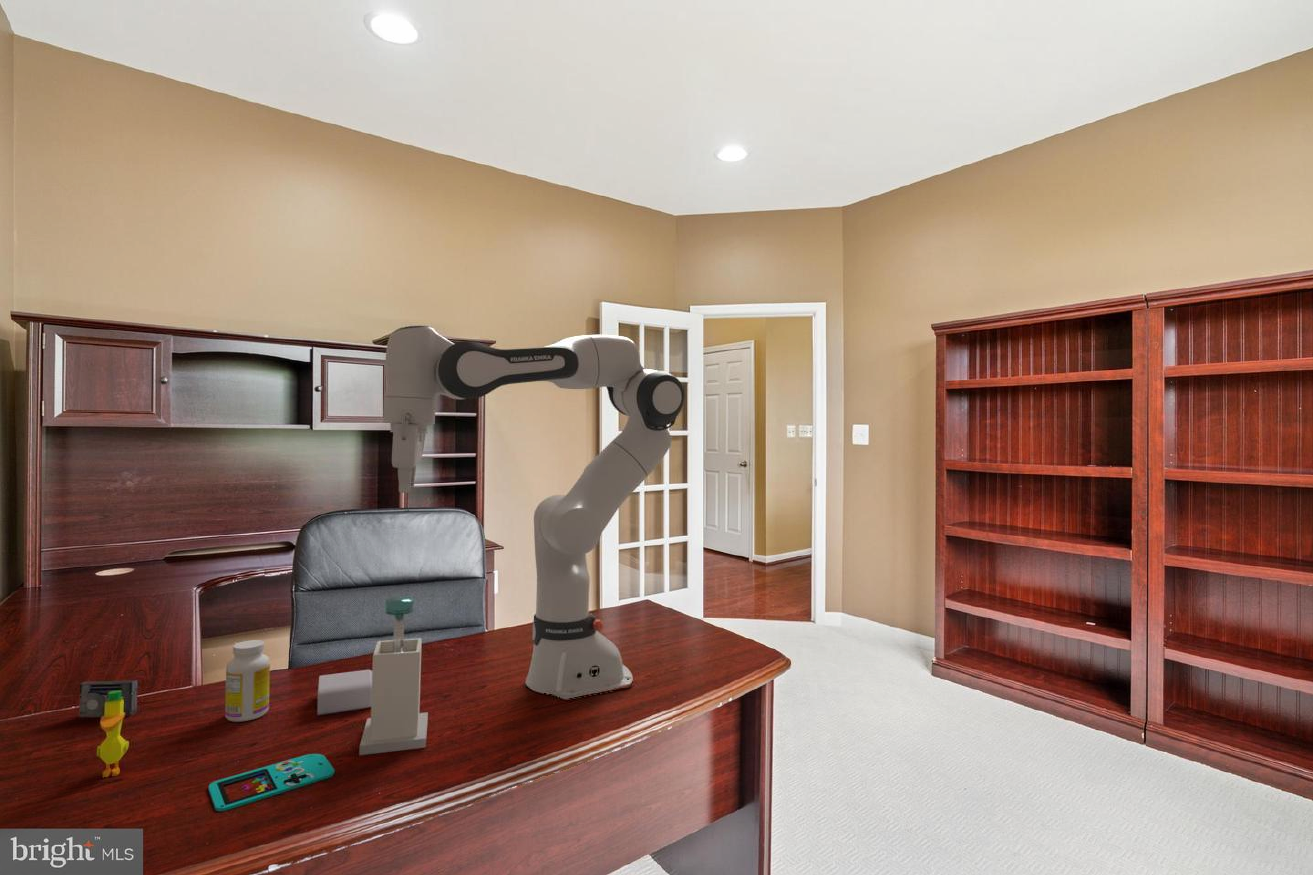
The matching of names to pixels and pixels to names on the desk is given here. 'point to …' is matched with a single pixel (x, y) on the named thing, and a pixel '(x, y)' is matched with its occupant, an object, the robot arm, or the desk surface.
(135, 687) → the mini dv tape
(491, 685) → the desk surface
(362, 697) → the charger
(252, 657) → the supplement bottle
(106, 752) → the toy figure
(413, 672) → the press housing
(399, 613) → the plunger
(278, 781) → the handheld gaming console
